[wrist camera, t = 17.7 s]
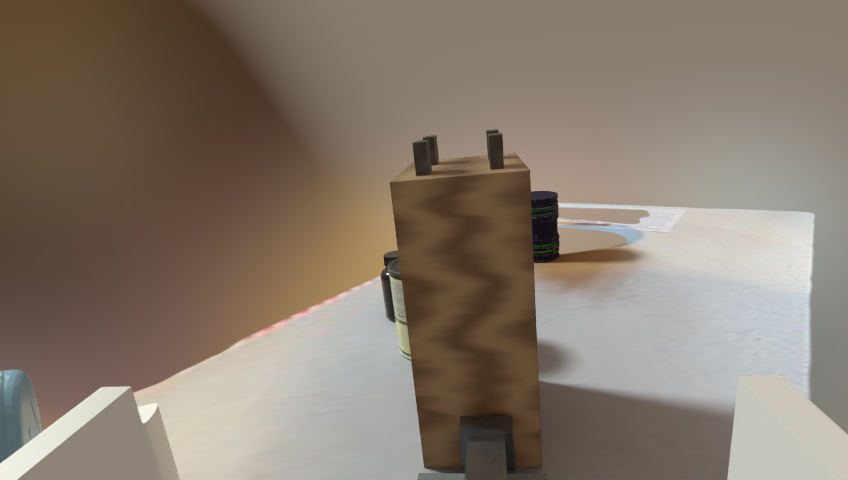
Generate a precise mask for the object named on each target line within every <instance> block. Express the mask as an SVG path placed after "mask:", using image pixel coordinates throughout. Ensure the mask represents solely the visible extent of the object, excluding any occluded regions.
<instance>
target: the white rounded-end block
mask: <svg viewBox="0 0 848 480" xmlns="http://www.w3.org/2000/svg"><path fill="white" fill-rule="evenodd" d="M137 408H138V411H139V414H140V418H141V421H142V424H143V427H144V431H145V434H146V437H147V440H148V444H149V447H150V450H151V453H152V457H153V460H154V463H155V466H156V470H157V473H158V476H159V479H160V480H180V479H179V475H178V472H177V468H176V465H175V461H174V458H173V455H172V452H171V448H170V445H169V442H168V438H167V435H166V431H165V428H164V424H163V421H162V418H161V414H160V411H159V407H158V404H157V403H154V404H149V405H144V406H139V407H137Z"/></svg>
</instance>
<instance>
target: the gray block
mask: <svg viewBox="0 0 848 480" xmlns="http://www.w3.org/2000/svg"><path fill="white" fill-rule="evenodd" d="M507 478H508V480H547V479H546V474H521V473H507ZM418 480H465V473H419V475H418Z"/></svg>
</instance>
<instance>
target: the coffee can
mask: <svg viewBox="0 0 848 480" xmlns="http://www.w3.org/2000/svg"><path fill="white" fill-rule="evenodd" d="M387 268H388V272H389V276H390V283H391V291H392V298H393V305H394V313H395V320H396V328H397V335H398V342H399V352H400V354H401V355H402V356H403V357H405V358H407V359H410V360H411V353H410V345H409V337H408V328H407V320H406V312H405V304H404V295H403V287H402V279H401V271H400V262H399V258H397V259H395V260H393V261H392V262H390V263H389V264H388V267H387Z"/></svg>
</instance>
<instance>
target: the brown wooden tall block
mask: <svg viewBox="0 0 848 480" xmlns="http://www.w3.org/2000/svg"><path fill="white" fill-rule="evenodd" d="M486 134H487V149H488V155H486V156H476V157H464V158H454V159H444V160H443V159H442V160H439V159H438V150H437V149H438V148H437V137H436V135H435V136H426V137H423V140H421V141H416V142H414V143H413V152H414V163H412V164H411V165H410V166H409V167H408V168H406V169H405V170H404V171H403V172H402V173H400V174H399V175H398V176H397V177H395V178H394V179H393V180H392V181H391V182H390V188H391V196H392V205H393V213H394V221H395V229H396V237H397V246H398V254H399V262H400V271H401V279H402V287H403V295H404V304H405V312H406V320H407V328H408V337H409V345H410V353H411V361H412V370H413V378H414V386H415V394H416V403H417V411H418V419H419V427H420V436H421V444H422V452H423V461H424V467H463V466H462V456H461V445H460V435H459V425H460V416H512V425H513V442H514V459H515V467H542V457H541V433H540V408H539V383H538V359H537V334H536V309H535V285H534V260H533V235H532V211H531V186H530V170H529V169H528V167H527V166H526V165H525V164H524V163H523V162H522V160H521V159H520V158H519V157H518V156H517V155H516V153H508V154H503V140H502V134H501V133H498V130H497V129H495V130H487V131H486Z"/></svg>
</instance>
